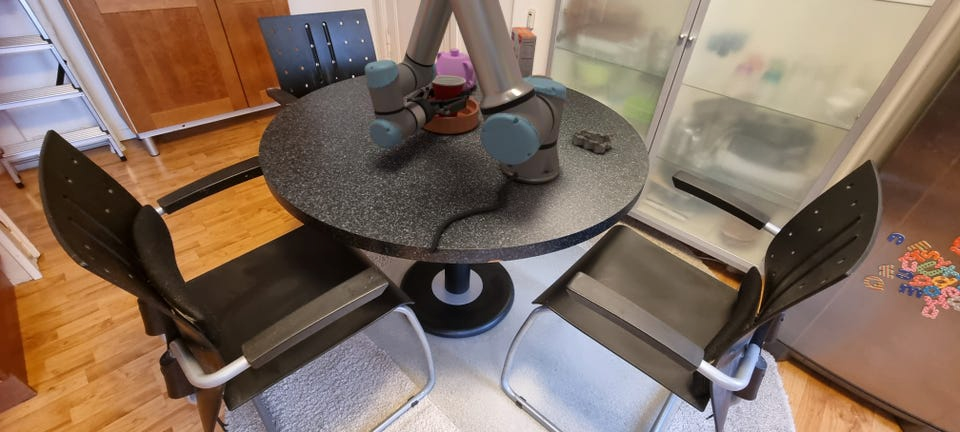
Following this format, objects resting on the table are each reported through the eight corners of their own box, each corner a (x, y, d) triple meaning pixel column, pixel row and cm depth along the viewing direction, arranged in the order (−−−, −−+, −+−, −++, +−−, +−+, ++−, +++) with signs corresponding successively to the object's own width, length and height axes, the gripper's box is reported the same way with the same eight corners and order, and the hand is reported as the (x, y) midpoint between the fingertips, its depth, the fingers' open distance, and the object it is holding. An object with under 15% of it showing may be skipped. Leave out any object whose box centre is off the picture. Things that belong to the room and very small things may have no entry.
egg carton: (612, 147, 110) (616, 135, 108) (599, 155, 106) (603, 143, 103) (581, 135, 116) (584, 123, 113) (568, 142, 111) (570, 130, 109)
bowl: (468, 139, 110) (468, 122, 106) (407, 129, 113) (406, 112, 110) (485, 115, 125) (485, 99, 121) (431, 106, 128) (430, 90, 125)
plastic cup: (467, 111, 122) (468, 74, 115) (462, 125, 113) (463, 85, 106) (434, 108, 122) (433, 71, 115) (427, 121, 114) (426, 82, 107)
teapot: (410, 85, 144) (407, 47, 136) (454, 75, 156) (454, 39, 147) (445, 102, 132) (444, 62, 123) (489, 90, 144) (491, 52, 135)
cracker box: (506, 82, 152) (511, 26, 139) (520, 82, 153) (526, 26, 140) (514, 95, 141) (521, 35, 128) (530, 94, 142) (537, 35, 129)
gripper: (384, 119, 106) (426, 95, 123) (449, 136, 100) (485, 109, 116) (381, 93, 102) (425, 72, 118) (449, 110, 95) (486, 85, 111)
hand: (455, 90), depth 117 cm, fingers closed on plastic cup, 9 cm apart
